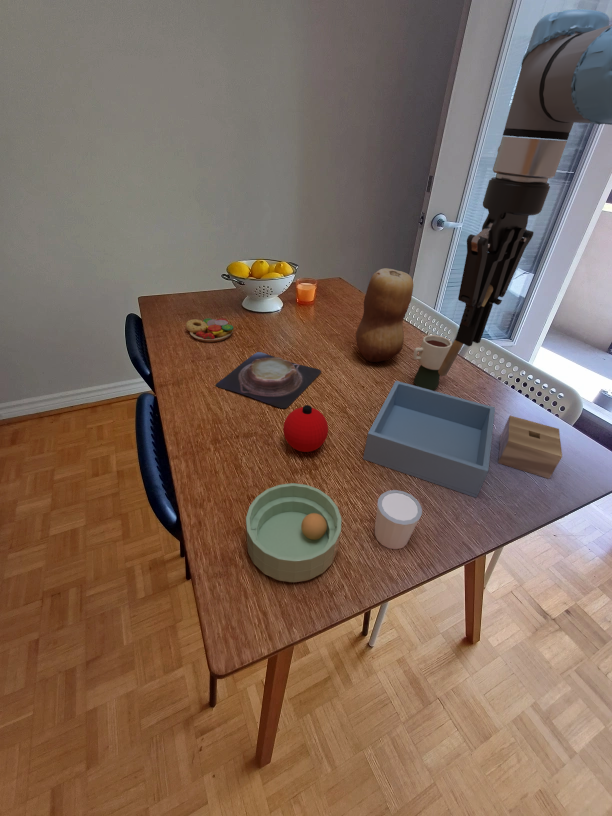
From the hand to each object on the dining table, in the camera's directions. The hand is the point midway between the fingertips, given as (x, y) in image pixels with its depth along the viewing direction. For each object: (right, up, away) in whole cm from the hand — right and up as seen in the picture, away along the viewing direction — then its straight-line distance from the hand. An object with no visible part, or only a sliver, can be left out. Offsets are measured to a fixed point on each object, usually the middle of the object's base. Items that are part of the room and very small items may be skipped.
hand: (467, 340), depth 66 cm
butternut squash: (-7, +3, +50) cm, 50 cm away
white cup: (-13, -32, 0) cm, 35 cm away
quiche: (-36, -4, +37) cm, 52 cm away
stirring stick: (-2, -5, +7) cm, 9 cm away
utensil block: (+19, -21, +18) cm, 34 cm away
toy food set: (-56, +12, +56) cm, 80 cm away
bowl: (-29, -33, -3) cm, 44 cm away
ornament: (-27, -19, +16) cm, 37 cm away
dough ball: (-26, -30, -3) cm, 39 cm away
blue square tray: (-1, -19, +19) cm, 27 cm away
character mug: (+5, -6, +39) cm, 39 cm away
